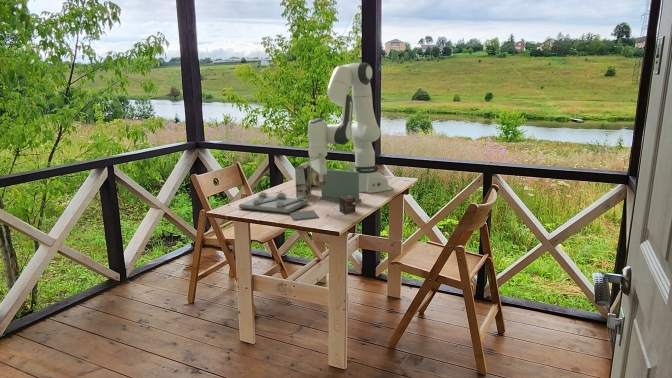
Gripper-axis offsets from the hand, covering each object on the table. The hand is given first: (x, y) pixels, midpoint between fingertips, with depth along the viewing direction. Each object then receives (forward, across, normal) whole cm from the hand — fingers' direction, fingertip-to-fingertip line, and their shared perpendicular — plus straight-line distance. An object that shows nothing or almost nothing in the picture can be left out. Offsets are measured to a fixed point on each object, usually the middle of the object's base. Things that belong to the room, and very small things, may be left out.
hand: (319, 180), depth 237 cm
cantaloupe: (+15, +54, -6) cm, 56 cm away
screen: (+15, +13, -14) cm, 24 cm away
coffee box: (+15, +31, +2) cm, 34 cm away
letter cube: (+2, 0, 0) cm, 2 cm away
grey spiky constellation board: (+15, +13, +21) cm, 29 cm away
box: (+15, -10, -11) cm, 21 cm away
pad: (+14, -9, +10) cm, 20 cm away
